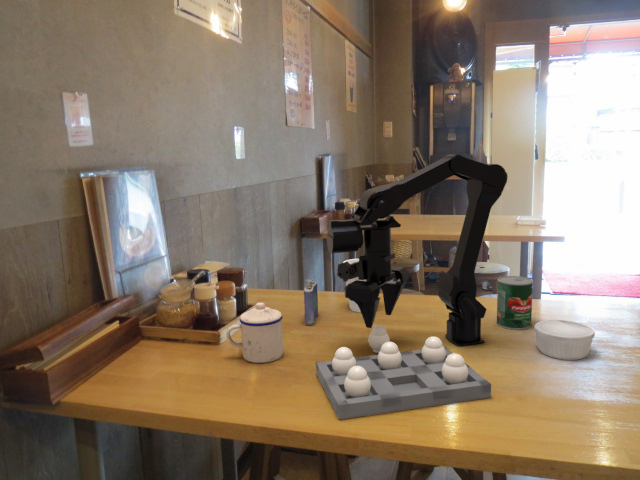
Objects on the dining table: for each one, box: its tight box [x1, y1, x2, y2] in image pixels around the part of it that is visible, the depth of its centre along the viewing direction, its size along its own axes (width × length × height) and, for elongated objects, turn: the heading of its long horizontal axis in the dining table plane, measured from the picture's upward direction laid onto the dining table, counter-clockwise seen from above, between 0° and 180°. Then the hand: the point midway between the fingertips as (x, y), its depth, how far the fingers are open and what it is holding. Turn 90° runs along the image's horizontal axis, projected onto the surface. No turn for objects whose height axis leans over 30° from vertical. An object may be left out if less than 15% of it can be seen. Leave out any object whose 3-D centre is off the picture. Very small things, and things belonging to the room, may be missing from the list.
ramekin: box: [533, 319, 595, 361], centre depth 108 cm, size 11×11×5 cm
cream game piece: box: [367, 324, 391, 354], centre depth 113 cm, size 5×5×6 cm
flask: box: [303, 279, 319, 326], centre depth 134 cm, size 9×3×11 cm, turn 172°
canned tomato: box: [496, 275, 534, 331], centre depth 125 cm, size 8×8×11 cm
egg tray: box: [315, 335, 492, 421], centre depth 96 cm, size 18×27×7 cm, turn 102°
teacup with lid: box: [226, 302, 284, 364], centre depth 112 cm, size 12×9×12 cm
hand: (379, 321), depth 112 cm, fingers open, 9 cm apart
